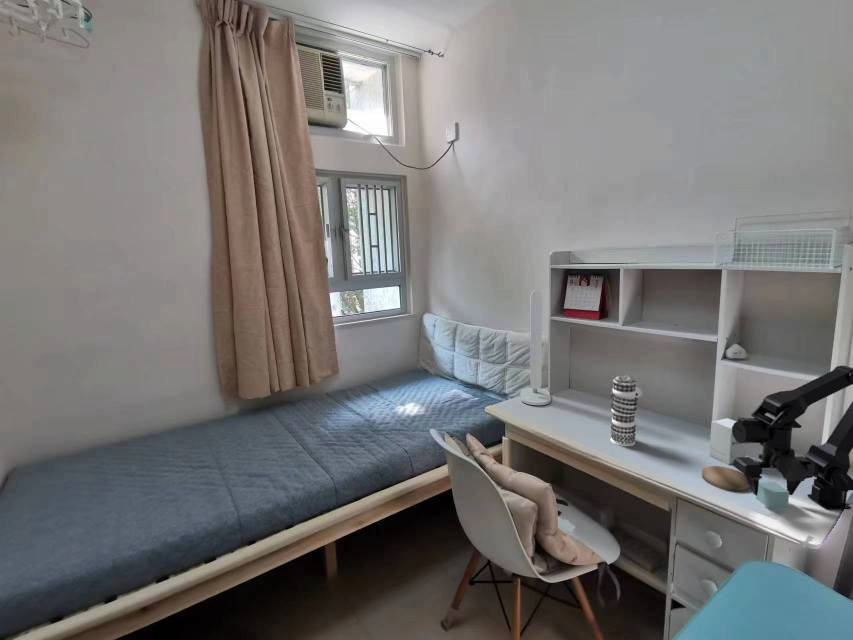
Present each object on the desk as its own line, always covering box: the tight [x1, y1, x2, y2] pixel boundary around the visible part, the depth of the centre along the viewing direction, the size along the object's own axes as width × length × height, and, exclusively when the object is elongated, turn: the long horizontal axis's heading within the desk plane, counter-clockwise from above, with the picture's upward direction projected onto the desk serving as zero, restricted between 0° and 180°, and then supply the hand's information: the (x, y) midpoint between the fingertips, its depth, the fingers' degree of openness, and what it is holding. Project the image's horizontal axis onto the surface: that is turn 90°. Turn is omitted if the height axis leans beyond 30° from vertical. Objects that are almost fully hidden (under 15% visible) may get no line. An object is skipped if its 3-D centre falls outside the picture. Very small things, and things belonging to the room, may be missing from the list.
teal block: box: [755, 481, 790, 510], centre depth 117 cm, size 5×5×5 cm
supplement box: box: [709, 417, 747, 465], centre depth 142 cm, size 7×7×13 cm
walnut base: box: [701, 465, 750, 492], centre depth 130 cm, size 12×12×2 cm
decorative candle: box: [610, 375, 639, 447], centre depth 157 cm, size 9×9×25 cm
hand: (772, 494), depth 117 cm, fingers open, 9 cm apart
